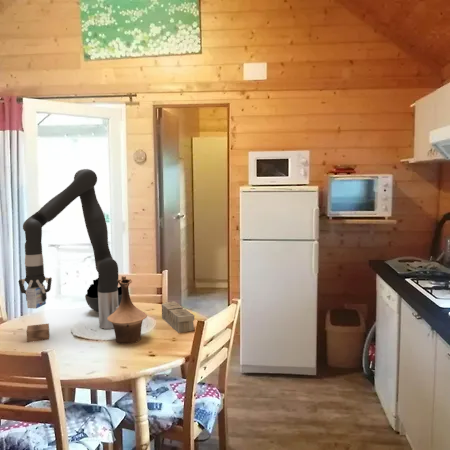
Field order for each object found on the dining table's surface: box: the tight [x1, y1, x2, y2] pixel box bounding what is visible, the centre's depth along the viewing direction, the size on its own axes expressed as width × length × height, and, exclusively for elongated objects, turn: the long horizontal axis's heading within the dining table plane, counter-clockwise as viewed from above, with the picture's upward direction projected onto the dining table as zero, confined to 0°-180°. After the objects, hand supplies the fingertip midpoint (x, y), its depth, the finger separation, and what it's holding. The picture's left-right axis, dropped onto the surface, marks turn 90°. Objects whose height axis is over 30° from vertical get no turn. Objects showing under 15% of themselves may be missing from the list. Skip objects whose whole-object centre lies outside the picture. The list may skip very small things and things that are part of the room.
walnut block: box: [26, 323, 50, 343], centre depth 218 cm, size 9×9×5 cm
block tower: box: [161, 301, 195, 334], centre depth 234 cm, size 8×8×29 cm
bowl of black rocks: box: [84, 278, 122, 314], centre depth 256 cm, size 20×20×19 cm
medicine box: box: [25, 285, 47, 309], centre depth 216 cm, size 8×4×9 cm, turn 169°
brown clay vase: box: [107, 275, 148, 345], centre depth 212 cm, size 18×17×28 cm
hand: (36, 301), depth 217 cm, fingers closed on medicine box, 5 cm apart
